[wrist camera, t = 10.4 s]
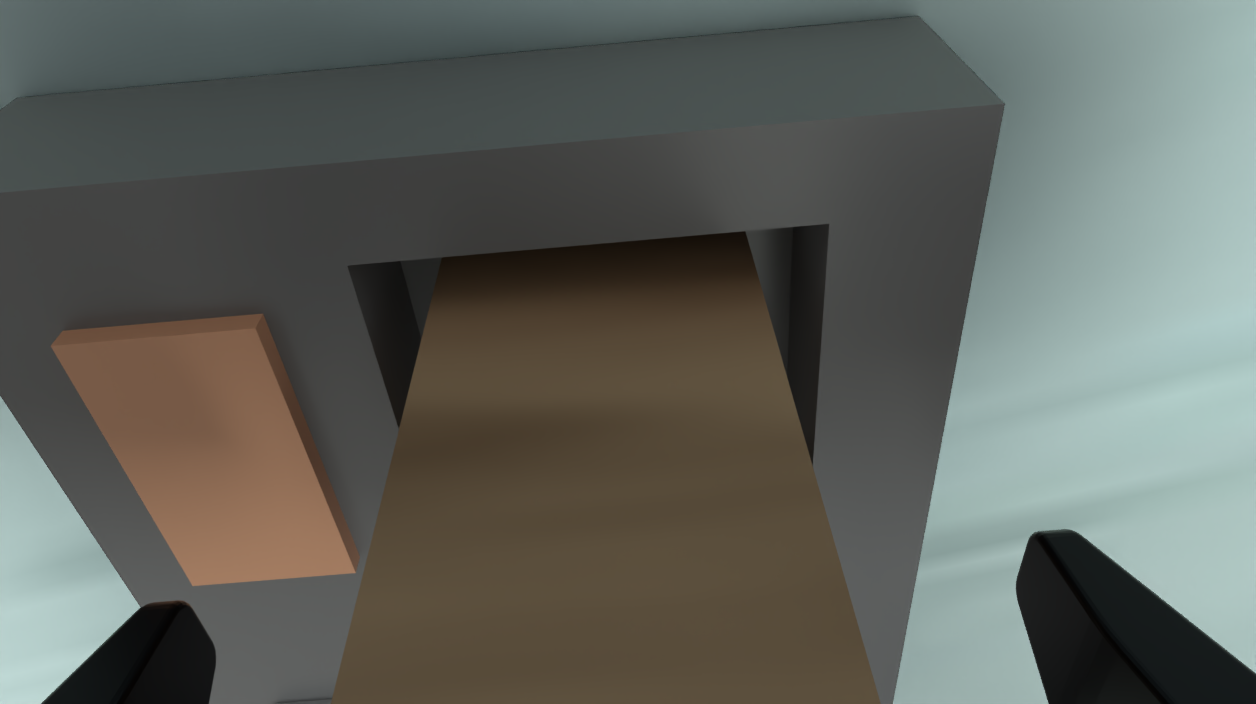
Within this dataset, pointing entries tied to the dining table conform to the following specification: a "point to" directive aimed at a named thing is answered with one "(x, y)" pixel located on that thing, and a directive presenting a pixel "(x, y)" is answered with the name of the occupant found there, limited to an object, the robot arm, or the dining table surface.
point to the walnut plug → (602, 496)
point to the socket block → (406, 275)
